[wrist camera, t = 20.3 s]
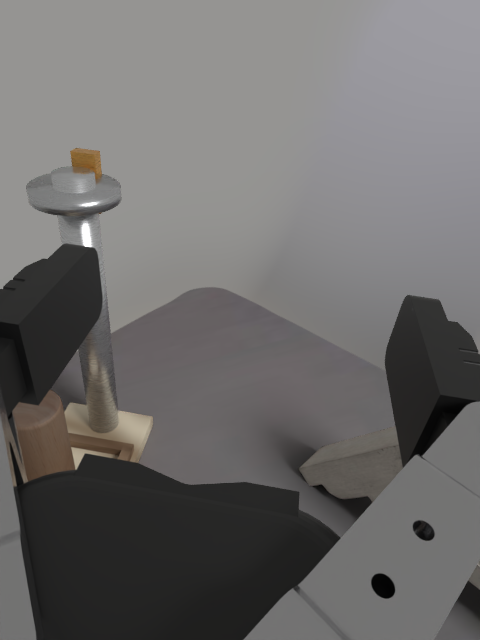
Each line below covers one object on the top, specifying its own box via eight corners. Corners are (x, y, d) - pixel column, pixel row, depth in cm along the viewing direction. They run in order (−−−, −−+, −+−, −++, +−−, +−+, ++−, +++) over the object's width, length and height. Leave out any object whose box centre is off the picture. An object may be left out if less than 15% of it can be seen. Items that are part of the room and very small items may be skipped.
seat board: (58, 664, 35) (53, 651, 33) (-66, 638, 35) (-76, 624, 34) (152, 425, 54) (152, 410, 53) (71, 411, 55) (69, 396, 53)
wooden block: (16, 486, 43) (-33, 338, 33) (102, 545, 40) (77, 400, 29) (-19, 516, 41) (-85, 366, 30) (69, 583, 37) (29, 438, 26)
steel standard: (124, 461, 50) (97, 181, 32) (62, 449, 50) (1, 167, 32) (144, 413, 55) (131, 153, 37) (89, 404, 56) (49, 142, 38)
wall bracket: (457, 722, 47) (298, 468, 50) (473, 685, 50) (321, 446, 52) (750, 823, 30) (481, 425, 32) (750, 757, 32) (502, 396, 35)
